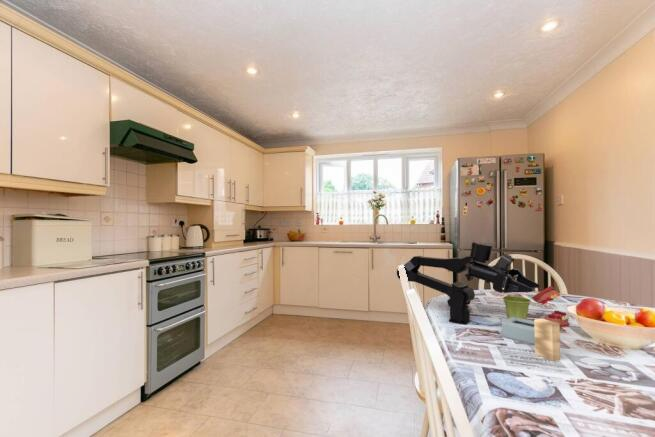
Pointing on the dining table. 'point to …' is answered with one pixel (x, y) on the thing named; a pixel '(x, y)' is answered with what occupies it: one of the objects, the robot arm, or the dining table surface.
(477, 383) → the dining table surface
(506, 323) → the block
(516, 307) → the plant pot
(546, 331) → the upright wooden block
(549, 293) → the anatomical model
